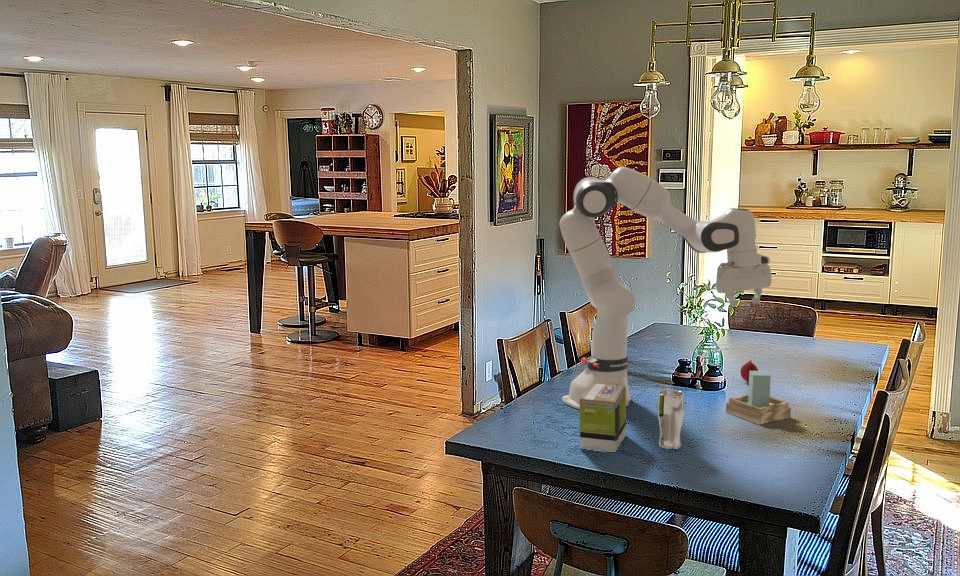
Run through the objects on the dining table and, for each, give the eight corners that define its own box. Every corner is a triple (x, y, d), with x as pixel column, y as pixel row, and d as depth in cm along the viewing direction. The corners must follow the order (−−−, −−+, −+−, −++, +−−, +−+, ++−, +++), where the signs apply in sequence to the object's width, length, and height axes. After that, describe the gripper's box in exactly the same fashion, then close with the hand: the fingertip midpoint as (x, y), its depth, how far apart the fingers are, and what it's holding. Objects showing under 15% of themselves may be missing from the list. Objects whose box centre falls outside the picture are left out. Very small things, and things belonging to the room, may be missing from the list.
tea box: (591, 431, 225) (592, 381, 223) (626, 435, 222) (627, 385, 219) (578, 450, 212) (579, 397, 209) (615, 454, 208) (616, 401, 206)
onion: (758, 385, 267) (760, 362, 265) (741, 384, 268) (742, 362, 267) (756, 380, 272) (757, 358, 271) (739, 380, 274) (740, 357, 272)
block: (751, 407, 235) (753, 375, 233) (747, 402, 240) (749, 370, 238) (769, 408, 234) (770, 375, 233) (764, 402, 239) (766, 371, 237)
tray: (758, 424, 229) (759, 410, 228) (725, 412, 240) (726, 398, 239) (790, 417, 235) (791, 402, 234) (756, 405, 246) (757, 391, 245)
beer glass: (651, 446, 214) (652, 393, 211) (665, 439, 218) (667, 387, 216) (673, 452, 209) (675, 398, 206) (687, 445, 213) (689, 392, 211)
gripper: (725, 263, 236) (728, 309, 237) (773, 257, 245) (776, 301, 246) (709, 263, 241) (712, 308, 242) (758, 257, 251) (760, 301, 252)
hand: (745, 304), depth 244 cm, fingers open, 8 cm apart
